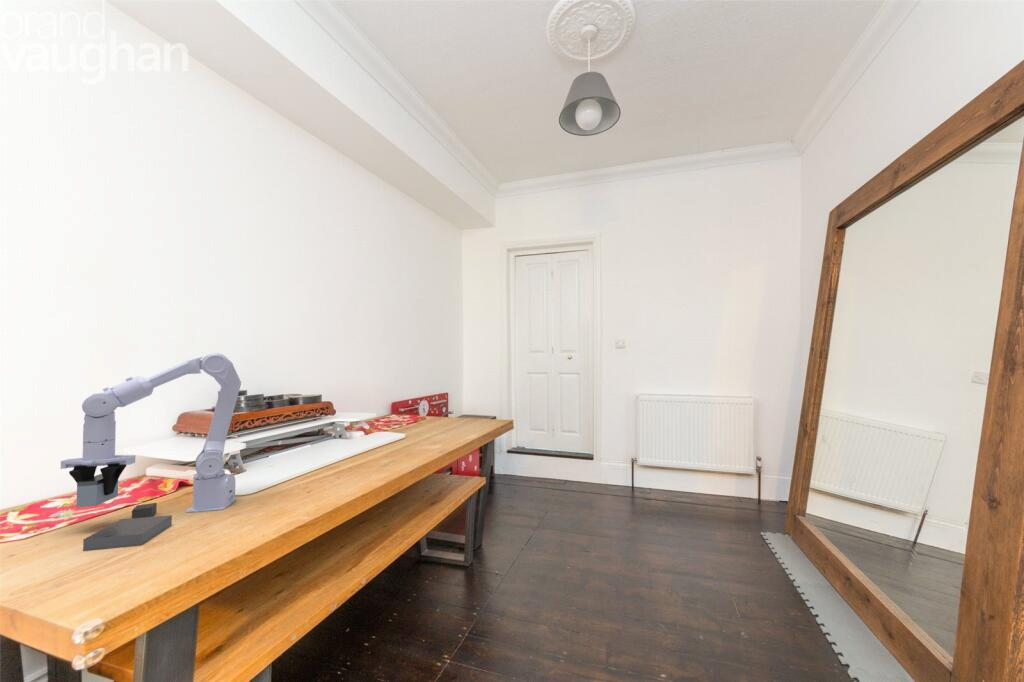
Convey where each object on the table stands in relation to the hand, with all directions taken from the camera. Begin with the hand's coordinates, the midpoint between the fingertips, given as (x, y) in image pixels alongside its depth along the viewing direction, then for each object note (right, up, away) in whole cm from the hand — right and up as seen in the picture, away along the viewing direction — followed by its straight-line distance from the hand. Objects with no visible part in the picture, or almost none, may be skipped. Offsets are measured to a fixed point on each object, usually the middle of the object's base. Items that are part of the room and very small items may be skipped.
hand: (98, 494), depth 100 cm
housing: (0, -2, 0) cm, 2 cm away
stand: (+14, -8, -6) cm, 17 cm away
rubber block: (+5, -9, +7) cm, 12 cm away
